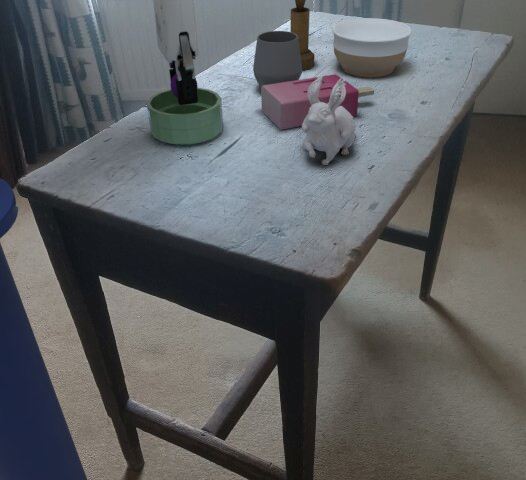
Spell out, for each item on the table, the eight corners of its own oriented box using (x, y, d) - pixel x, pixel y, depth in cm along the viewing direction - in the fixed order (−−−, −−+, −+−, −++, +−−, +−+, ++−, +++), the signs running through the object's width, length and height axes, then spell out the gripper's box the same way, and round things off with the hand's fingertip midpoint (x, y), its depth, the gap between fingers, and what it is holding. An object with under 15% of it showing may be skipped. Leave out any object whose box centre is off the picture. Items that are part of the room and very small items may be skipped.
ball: (175, 105, 96) (171, 78, 93) (169, 95, 99) (166, 69, 96) (201, 101, 96) (198, 74, 94) (195, 92, 100) (192, 65, 97)
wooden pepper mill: (290, 72, 123) (292, -24, 112) (278, 63, 128) (278, -31, 116) (319, 67, 125) (323, -28, 113) (306, 58, 130) (309, -34, 118)
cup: (294, 79, 120) (294, 27, 113) (307, 96, 113) (309, 41, 106) (248, 84, 118) (247, 31, 112) (259, 101, 111) (258, 46, 105)
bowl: (360, 51, 133) (363, 13, 128) (421, 67, 124) (427, 27, 119) (314, 69, 124) (316, 29, 119) (376, 87, 115) (381, 45, 110)
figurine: (288, 166, 91) (289, 84, 83) (320, 128, 101) (323, 52, 93) (338, 175, 88) (344, 92, 80) (365, 135, 99) (373, 58, 91)
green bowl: (158, 152, 95) (154, 119, 92) (146, 123, 104) (141, 92, 101) (231, 141, 98) (229, 109, 95) (212, 113, 107) (210, 83, 103)
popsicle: (385, 85, 103) (280, 103, 98) (382, 112, 106) (280, 130, 101) (360, 69, 110) (261, 84, 104) (358, 94, 113) (261, 111, 107)
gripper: (136, -34, 91) (153, 83, 103) (156, -10, 79) (172, 120, 91) (184, -39, 93) (195, 78, 104) (210, -16, 80) (219, 113, 92)
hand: (184, 96), depth 97 cm, fingers closed on ball, 4 cm apart
